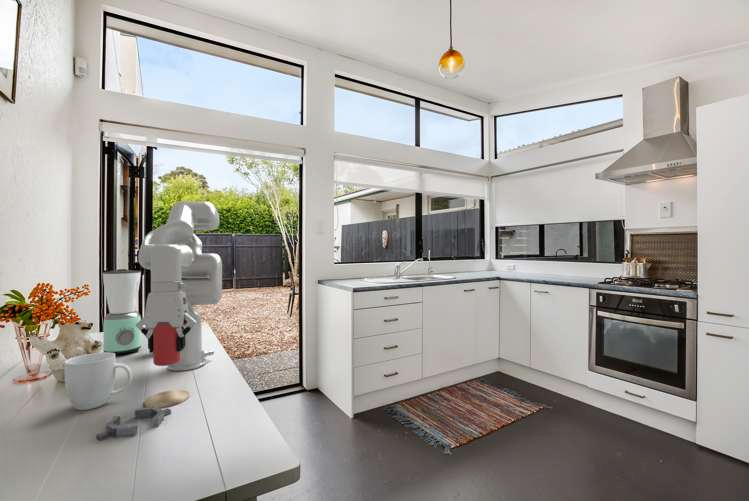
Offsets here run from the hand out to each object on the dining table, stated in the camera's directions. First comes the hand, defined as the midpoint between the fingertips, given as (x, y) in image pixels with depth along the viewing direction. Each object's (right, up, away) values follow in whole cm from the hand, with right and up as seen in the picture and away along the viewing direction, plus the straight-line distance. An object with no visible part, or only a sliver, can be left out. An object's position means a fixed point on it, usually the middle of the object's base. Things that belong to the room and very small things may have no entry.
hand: (167, 350), depth 101 cm
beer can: (0, -4, 0) cm, 4 cm away
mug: (-18, -14, -2) cm, 23 cm away
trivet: (0, -14, 0) cm, 14 cm away
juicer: (-48, -15, +50) cm, 71 cm away
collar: (+1, -14, -15) cm, 21 cm away
